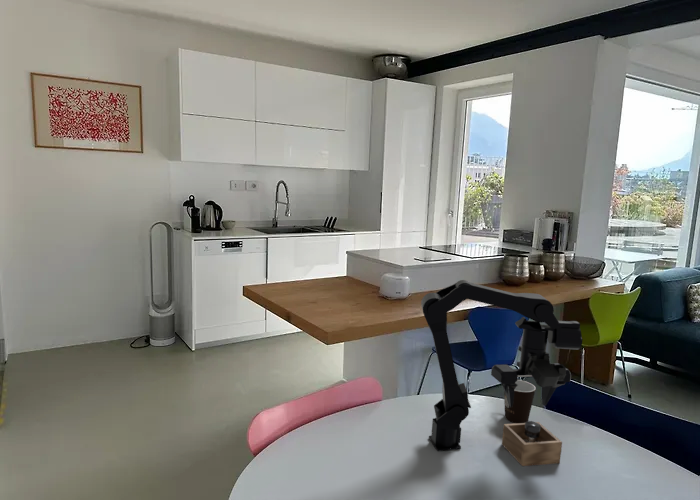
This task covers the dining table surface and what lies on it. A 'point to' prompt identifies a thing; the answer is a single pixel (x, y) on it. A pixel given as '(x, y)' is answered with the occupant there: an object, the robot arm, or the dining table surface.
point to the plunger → (532, 431)
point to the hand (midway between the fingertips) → (527, 405)
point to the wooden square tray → (531, 445)
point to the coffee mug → (520, 402)
